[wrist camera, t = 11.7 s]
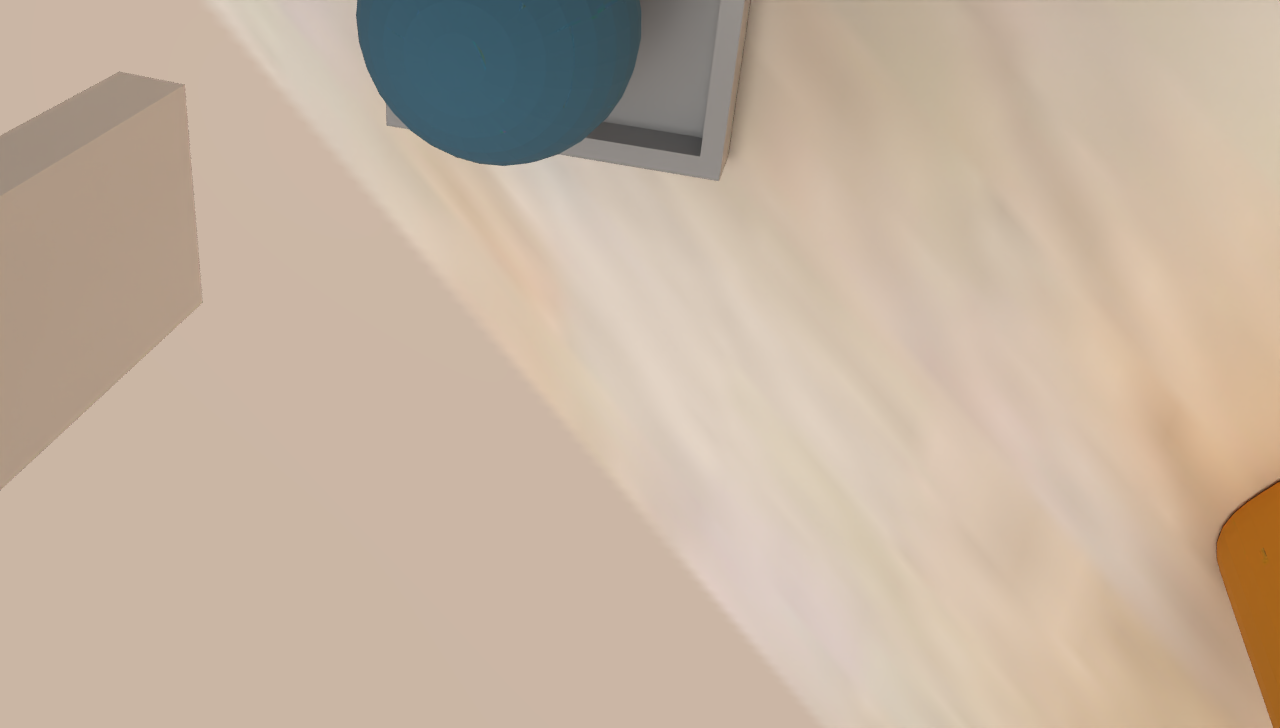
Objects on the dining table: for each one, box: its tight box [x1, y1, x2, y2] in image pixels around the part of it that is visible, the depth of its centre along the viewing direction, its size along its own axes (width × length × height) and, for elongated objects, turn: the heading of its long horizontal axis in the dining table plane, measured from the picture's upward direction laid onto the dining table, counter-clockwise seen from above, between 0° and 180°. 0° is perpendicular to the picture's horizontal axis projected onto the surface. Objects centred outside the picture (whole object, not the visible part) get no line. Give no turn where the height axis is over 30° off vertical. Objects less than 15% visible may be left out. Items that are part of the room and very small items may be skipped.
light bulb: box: [356, 0, 641, 166], centre depth 37 cm, size 8×8×12 cm
